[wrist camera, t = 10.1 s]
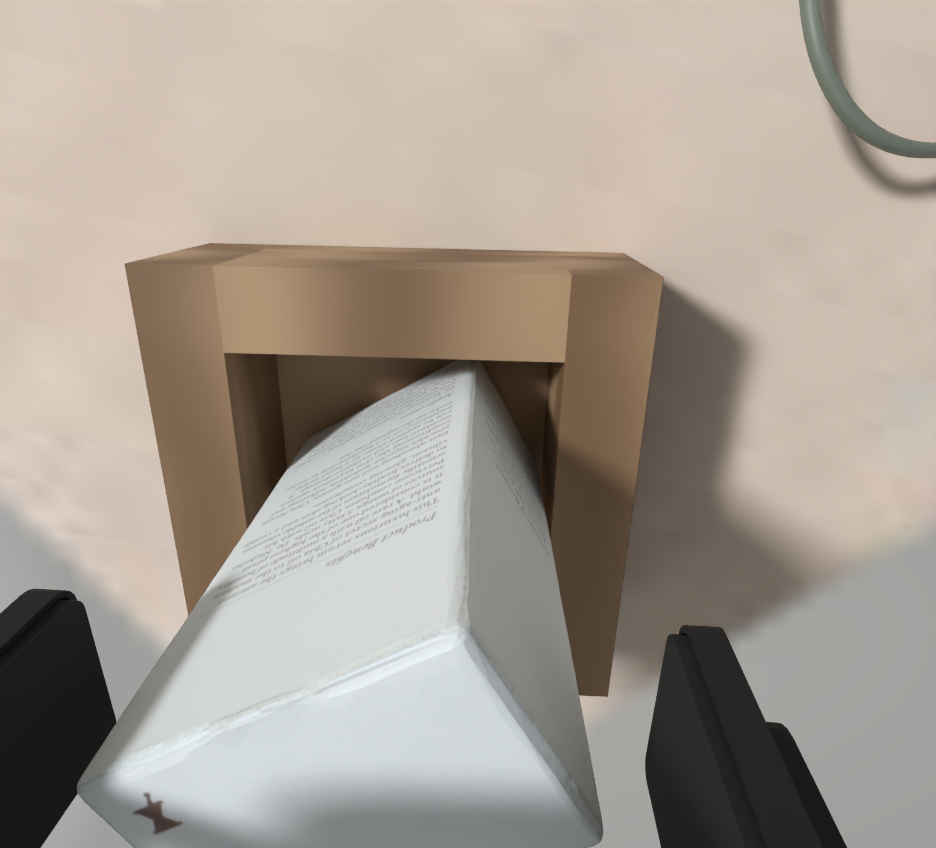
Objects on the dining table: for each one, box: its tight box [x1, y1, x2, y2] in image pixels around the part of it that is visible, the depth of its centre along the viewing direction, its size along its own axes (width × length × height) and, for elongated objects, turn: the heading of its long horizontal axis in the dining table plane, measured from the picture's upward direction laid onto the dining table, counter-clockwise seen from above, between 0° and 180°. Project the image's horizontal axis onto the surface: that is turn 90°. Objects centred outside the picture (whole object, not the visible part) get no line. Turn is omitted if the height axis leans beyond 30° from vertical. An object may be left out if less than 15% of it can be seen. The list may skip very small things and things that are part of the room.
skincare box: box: [77, 359, 603, 848], centre depth 14 cm, size 6×4×12 cm
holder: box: [125, 243, 663, 697], centre depth 18 cm, size 12×12×4 cm
